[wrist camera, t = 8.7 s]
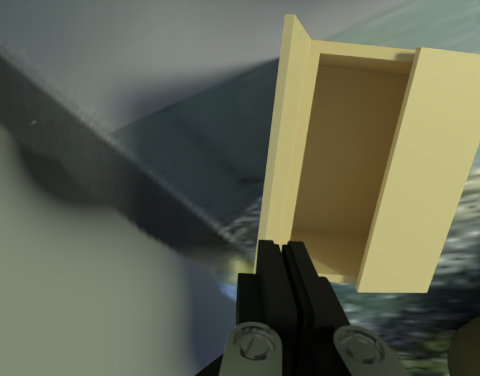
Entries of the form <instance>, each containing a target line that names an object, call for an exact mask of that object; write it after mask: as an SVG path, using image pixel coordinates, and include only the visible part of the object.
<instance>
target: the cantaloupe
mask: <svg viewBox="0 0 480 376" xmlns="http://www.w3.org/2000/svg"><path fill="white" fill-rule="evenodd" d="M448 368H449V375H450V376H480V317H477V318H474V319H472V320H470V321H469V322H468V323H467V324H465V325H462V326H461V327H460V328H459V329H458V330H457V331H456V333H455V335H454V337H453V339H452V341H451V344H450V348H449V351H448Z"/></svg>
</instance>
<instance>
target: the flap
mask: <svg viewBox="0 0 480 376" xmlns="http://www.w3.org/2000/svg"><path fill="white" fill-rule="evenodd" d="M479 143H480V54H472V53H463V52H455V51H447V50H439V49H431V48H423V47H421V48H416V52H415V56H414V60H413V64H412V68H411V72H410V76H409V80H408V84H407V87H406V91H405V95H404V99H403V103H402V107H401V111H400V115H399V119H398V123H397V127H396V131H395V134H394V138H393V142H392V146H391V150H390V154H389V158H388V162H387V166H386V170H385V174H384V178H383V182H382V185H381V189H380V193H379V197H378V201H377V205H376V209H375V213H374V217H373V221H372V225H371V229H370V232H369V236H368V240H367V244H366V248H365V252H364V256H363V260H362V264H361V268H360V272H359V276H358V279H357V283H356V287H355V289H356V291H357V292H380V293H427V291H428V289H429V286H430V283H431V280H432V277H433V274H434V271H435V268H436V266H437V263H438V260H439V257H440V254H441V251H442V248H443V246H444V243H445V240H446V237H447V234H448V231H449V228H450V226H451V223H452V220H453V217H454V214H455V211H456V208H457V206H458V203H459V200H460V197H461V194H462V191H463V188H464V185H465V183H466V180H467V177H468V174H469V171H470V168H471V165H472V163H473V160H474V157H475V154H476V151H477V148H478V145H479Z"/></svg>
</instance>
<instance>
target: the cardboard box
mask: <svg viewBox="0 0 480 376" xmlns="http://www.w3.org/2000/svg"><path fill="white" fill-rule="evenodd" d="M415 52H416V50H409V49H399V48H389V47H379V46H369V45H359V44H350V43H340V42H330V41H320V40H311V45H310V51H309V58H308V64H307V71H306V78H305V84H304V91H303V98H302V104H301V111H300V118H299V124H298V131H297V138H296V144H295V151H294V157H293V164H292V171H291V177H290V184H289V191H288V197H287V204H286V211H285V217H284V224H283V231H282V237H281V244H280V250H282V245H283V244H286V245H287V242H288V241H303V242H304V245H305V247H306V249H307V251H308V254H309V256H310V258H311V260H312V262H313V265H314V267H315V269H316V271H317V274H318V276H322V277H327V279H328V280H329V282H339V283H352V284H356V283H357V279H358V276H359V272H360V268H361V264H362V260H363V256H364V252H365V248H366V244H367V240H368V236H369V232H370V229H371V225H372V221H373V217H374V213H375V209H376V205H377V201H378V197H379V193H380V189H381V185H382V182H383V178H384V174H385V170H386V166H387V162H388V158H389V154H390V150H391V146H392V142H393V138H394V134H395V131H396V127H397V123H398V119H399V115H400V111H401V107H402V103H403V99H404V95H405V91H406V87H407V84H408V80H409V76H410V72H411V68H412V64H413V60H414V56H415Z"/></svg>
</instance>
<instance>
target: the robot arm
mask: <svg viewBox="0 0 480 376" xmlns="http://www.w3.org/2000/svg"><path fill="white" fill-rule="evenodd" d="M195 376H411V375H410V373H409V372H408V371H407V370H406V368H405V367H404V366H403V364H402V363H401V362H400V361H399V359H398V358H397V357H396V355H395V354H394V353H393V352H392V350H391V349H390V348H389V346H388V345H387V344H386V343H385V342H384V341H383V340H382V339H381V338H380V337H379V336H378V335H376V334H375V333H373V332H372V331H370V330H368V329H365V328H363V327H359V326H351V325H350V323H349V321H348V319H347V317H346V315H345V313H344V311H343V309H342V307H341V305H340V303H339V301H338V299H337V297H336V295H335V292H334V290H333V288H332V286H331V284H330V282H329V280H328V279H327V277H322V276H318V274H317V271H316V269H315V267H314V265H313V262H312V260H311V258H310V256H309V254H308V251H307V249H306V247H305V245H304V242H303V241H288V242H287V245H286V244H283V245H282V250H280V247H279V244H274V241H273V240H259V241H258V250H257V262H256V274H249V273H238V282H237V301H236V326H235V327H234V328H233V329H232V330H231V331H230V333H229V335H228V338H227V342H226V346H225V350H224V353H223V354H222V355H221V356H220V357H218V358H217V359H216V360H214V361H213V362H212V363H211V364H209V365H208V366H207V367H205V368H204V369H203V370H202V371H200V372H199V373H198V374H196V375H195Z"/></svg>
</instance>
